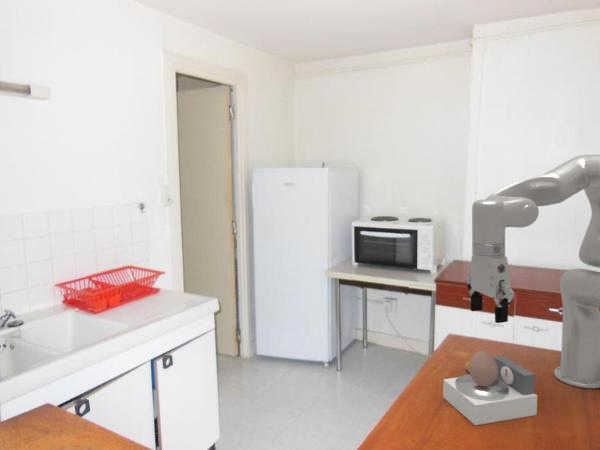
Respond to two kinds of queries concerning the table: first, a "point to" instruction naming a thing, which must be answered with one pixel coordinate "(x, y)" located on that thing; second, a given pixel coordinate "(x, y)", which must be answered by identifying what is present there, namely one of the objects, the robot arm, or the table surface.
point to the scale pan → (481, 389)
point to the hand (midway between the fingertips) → (488, 316)
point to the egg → (483, 368)
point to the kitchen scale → (511, 407)
